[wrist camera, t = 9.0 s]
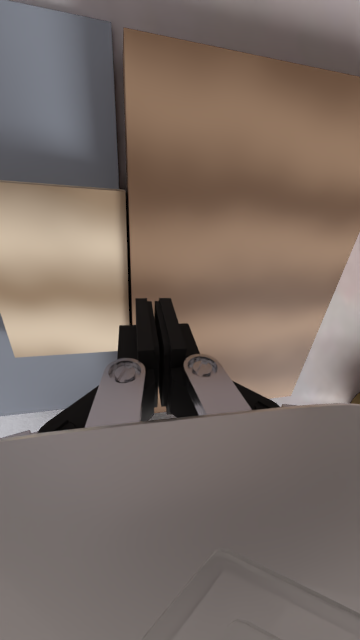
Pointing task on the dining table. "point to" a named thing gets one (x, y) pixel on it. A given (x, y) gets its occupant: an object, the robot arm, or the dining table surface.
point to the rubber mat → (54, 161)
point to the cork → (356, 399)
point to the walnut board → (239, 198)
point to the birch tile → (62, 268)
